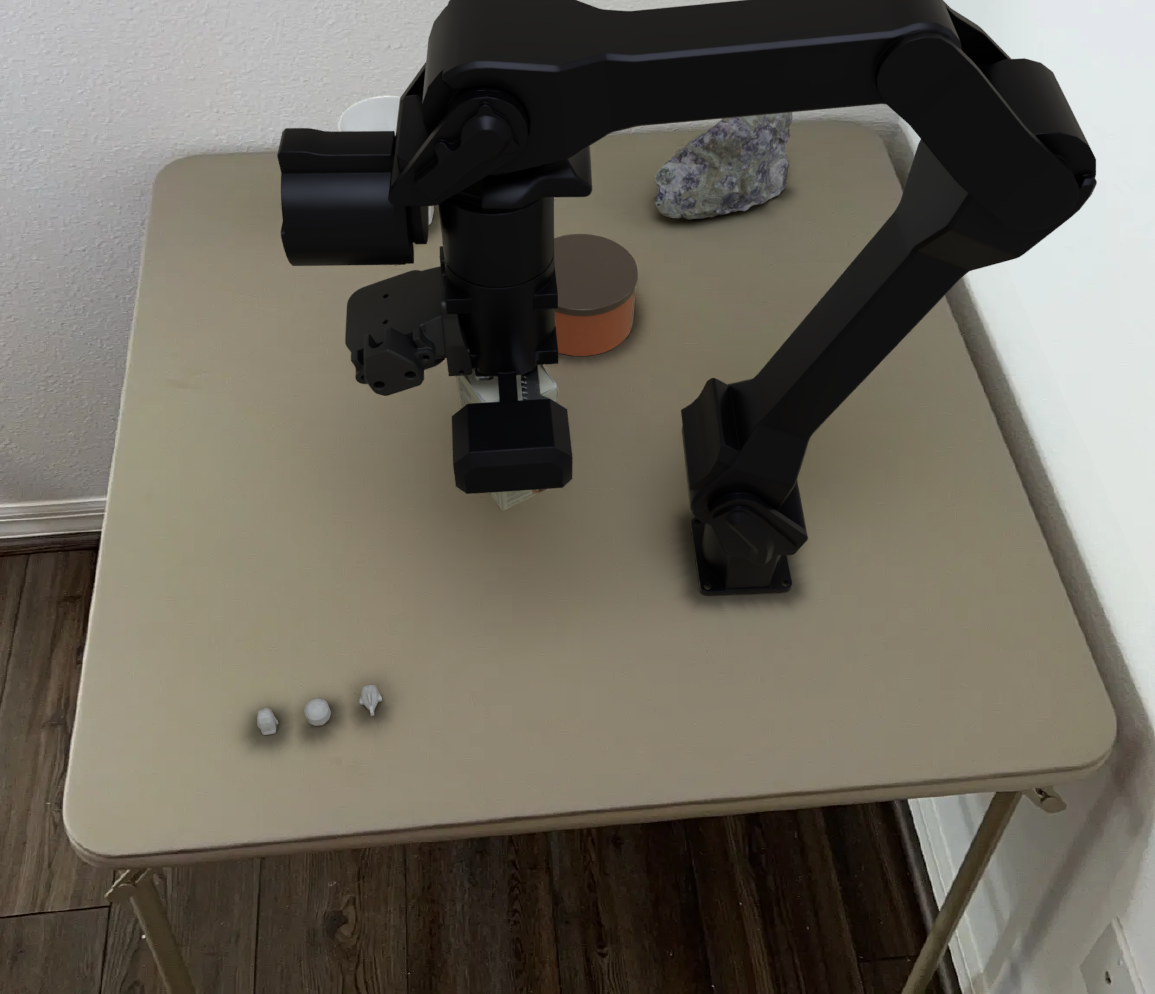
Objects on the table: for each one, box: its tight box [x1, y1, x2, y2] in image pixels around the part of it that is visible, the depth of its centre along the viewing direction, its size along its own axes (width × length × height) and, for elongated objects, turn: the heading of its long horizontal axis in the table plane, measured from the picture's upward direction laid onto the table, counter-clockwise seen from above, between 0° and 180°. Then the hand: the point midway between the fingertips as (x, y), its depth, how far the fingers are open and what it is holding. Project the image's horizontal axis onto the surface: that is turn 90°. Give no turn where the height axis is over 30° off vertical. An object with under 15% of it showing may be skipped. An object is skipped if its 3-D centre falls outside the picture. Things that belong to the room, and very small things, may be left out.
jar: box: [554, 233, 639, 357], centre depth 94 cm, size 9×9×5 cm
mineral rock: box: [654, 112, 793, 220], centre depth 102 cm, size 13×11×10 cm
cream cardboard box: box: [455, 365, 558, 511], centre depth 69 cm, size 5×4×10 cm
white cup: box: [336, 94, 435, 226], centre depth 100 cm, size 8×8×10 cm
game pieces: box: [256, 684, 383, 736], centre depth 73 cm, size 8×2×2 cm, turn 102°
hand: (510, 444), depth 71 cm, fingers closed on cream cardboard box, 6 cm apart
